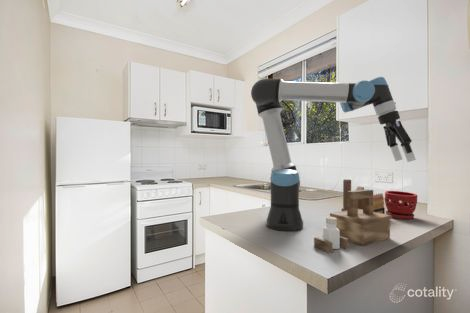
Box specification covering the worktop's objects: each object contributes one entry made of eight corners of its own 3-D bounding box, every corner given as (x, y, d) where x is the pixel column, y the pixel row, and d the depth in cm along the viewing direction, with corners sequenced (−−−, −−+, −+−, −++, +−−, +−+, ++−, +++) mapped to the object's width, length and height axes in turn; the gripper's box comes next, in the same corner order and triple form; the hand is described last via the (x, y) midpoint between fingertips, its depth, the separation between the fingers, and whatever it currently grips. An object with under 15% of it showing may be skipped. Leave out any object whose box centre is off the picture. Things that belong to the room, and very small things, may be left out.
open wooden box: (331, 235, 90) (331, 216, 90) (358, 229, 98) (358, 212, 98) (362, 246, 80) (362, 224, 80) (389, 238, 87) (389, 218, 87)
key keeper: (314, 246, 79) (314, 237, 79) (332, 242, 83) (332, 233, 83) (329, 253, 73) (329, 243, 73) (348, 248, 78) (348, 238, 78)
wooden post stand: (330, 216, 90) (330, 190, 90) (358, 211, 98) (358, 187, 98) (362, 225, 79) (362, 194, 79) (391, 218, 87) (391, 191, 87)
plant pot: (384, 218, 117) (384, 193, 117) (385, 212, 128) (385, 190, 128) (418, 222, 109) (418, 195, 109) (416, 216, 120) (416, 192, 120)
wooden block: (364, 215, 121) (364, 179, 121) (346, 217, 118) (347, 180, 118) (358, 214, 125) (358, 178, 125) (341, 215, 121) (341, 179, 121)
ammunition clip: (373, 221, 110) (374, 194, 110) (369, 220, 112) (369, 194, 112) (384, 218, 117) (384, 193, 117) (380, 217, 118) (380, 192, 118)
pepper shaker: (340, 249, 76) (340, 219, 76) (328, 250, 76) (328, 219, 76) (334, 245, 80) (334, 216, 80) (322, 245, 80) (322, 216, 80)
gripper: (408, 103, 91) (429, 157, 89) (387, 114, 115) (403, 157, 113) (386, 111, 93) (406, 164, 91) (370, 120, 117) (386, 162, 115)
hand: (405, 160), depth 102 cm, fingers open, 13 cm apart
